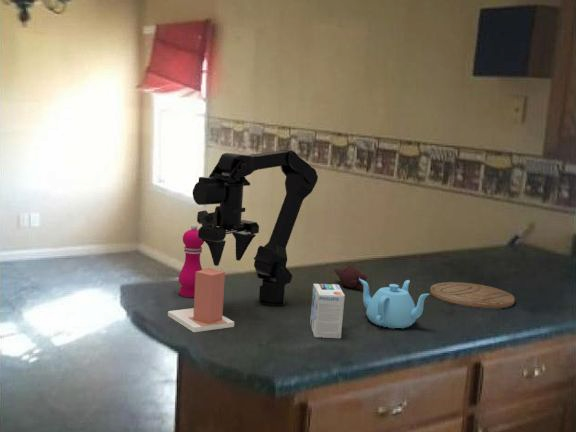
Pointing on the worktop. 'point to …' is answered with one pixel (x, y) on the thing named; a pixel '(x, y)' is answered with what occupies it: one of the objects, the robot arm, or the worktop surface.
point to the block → (209, 296)
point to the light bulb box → (327, 310)
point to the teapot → (392, 306)
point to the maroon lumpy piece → (350, 277)
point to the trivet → (472, 295)
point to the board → (195, 326)
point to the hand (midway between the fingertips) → (227, 262)
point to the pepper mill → (190, 261)
